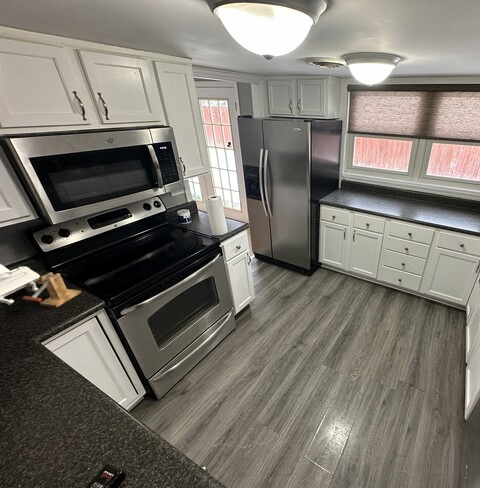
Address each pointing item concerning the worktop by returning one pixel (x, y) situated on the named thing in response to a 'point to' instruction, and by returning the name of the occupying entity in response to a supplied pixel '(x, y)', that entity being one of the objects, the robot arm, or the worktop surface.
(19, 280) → the robot arm
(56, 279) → the bracket
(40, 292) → the lever
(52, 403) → the worktop surface
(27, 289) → the pottery mug
